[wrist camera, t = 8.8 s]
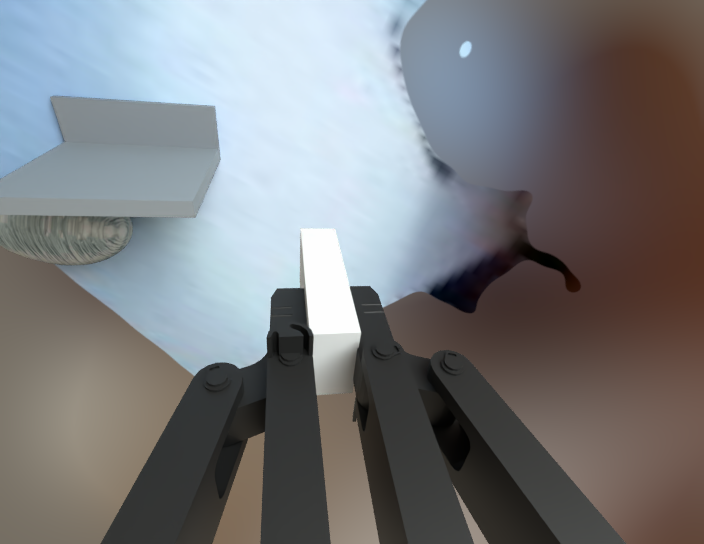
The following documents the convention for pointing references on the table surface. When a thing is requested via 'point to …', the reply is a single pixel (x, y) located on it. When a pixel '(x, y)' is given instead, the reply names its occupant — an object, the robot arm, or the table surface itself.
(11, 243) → the grey streaked ovoid
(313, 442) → the robot arm
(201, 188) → the grey screen
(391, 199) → the table surface
